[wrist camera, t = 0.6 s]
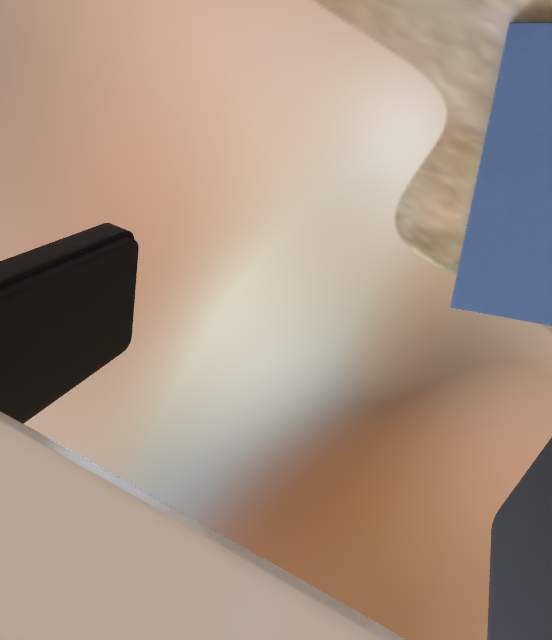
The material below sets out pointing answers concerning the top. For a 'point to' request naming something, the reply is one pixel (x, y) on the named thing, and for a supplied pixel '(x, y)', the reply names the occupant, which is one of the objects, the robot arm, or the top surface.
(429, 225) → the top surface
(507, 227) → the cloth
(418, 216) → the top surface
